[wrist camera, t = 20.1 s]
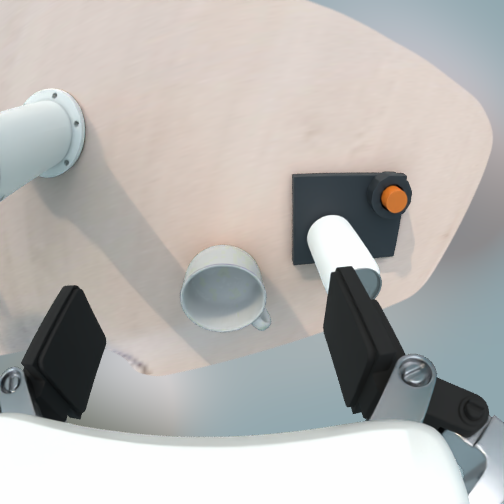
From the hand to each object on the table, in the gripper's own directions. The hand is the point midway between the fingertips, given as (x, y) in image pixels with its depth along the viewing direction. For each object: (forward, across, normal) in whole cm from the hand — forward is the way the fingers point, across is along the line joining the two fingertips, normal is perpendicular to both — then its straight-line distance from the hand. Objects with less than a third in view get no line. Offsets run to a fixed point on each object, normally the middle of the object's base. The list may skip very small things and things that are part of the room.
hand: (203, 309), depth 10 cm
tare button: (+25, -21, +6) cm, 33 cm away
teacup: (+28, +1, +19) cm, 34 cm away
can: (+27, -13, +12) cm, 32 cm away
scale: (+28, -16, +10) cm, 34 cm away
